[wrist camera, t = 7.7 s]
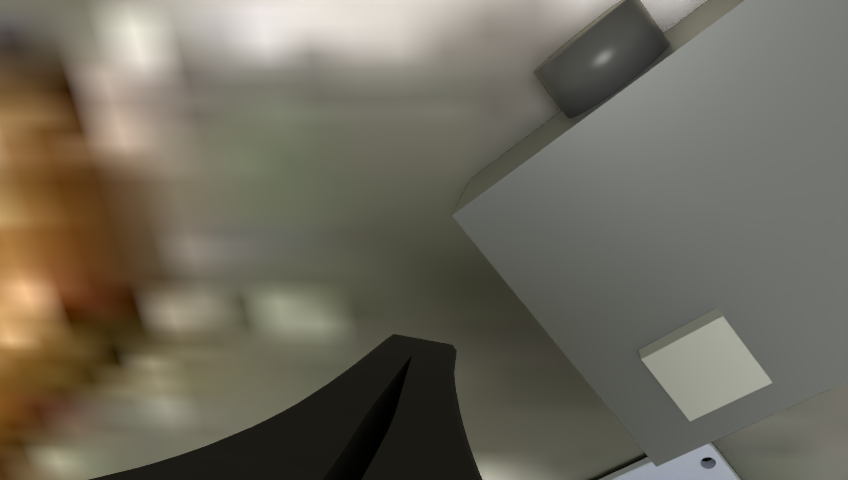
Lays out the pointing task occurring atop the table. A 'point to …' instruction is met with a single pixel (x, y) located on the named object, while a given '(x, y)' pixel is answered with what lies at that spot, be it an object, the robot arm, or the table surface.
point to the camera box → (685, 214)
